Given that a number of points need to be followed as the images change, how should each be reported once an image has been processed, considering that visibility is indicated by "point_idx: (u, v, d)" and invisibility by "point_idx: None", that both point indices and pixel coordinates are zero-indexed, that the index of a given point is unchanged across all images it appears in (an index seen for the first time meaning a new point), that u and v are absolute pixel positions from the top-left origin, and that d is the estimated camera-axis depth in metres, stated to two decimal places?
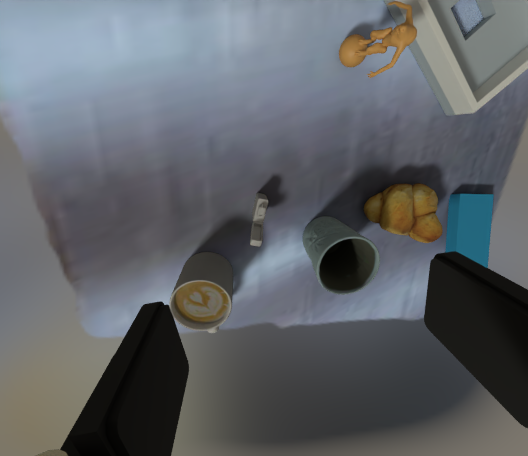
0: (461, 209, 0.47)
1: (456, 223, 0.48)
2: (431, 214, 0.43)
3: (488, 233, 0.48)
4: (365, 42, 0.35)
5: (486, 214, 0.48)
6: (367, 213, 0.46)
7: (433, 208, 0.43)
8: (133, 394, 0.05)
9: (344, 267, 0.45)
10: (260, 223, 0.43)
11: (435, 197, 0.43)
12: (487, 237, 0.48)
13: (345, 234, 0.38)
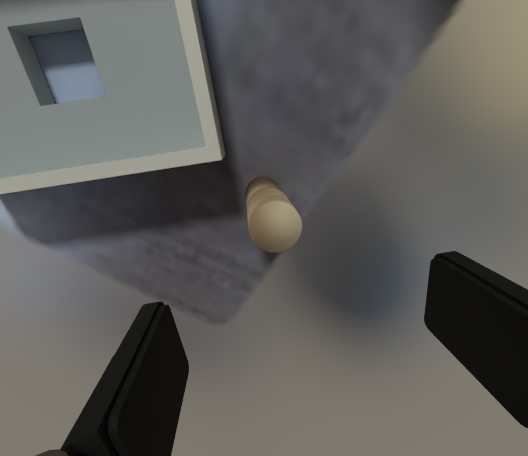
0: None
1: None
2: None
3: None
4: None
5: None
6: None
7: None
8: (134, 394, 0.05)
9: None
10: None
11: None
12: None
13: None
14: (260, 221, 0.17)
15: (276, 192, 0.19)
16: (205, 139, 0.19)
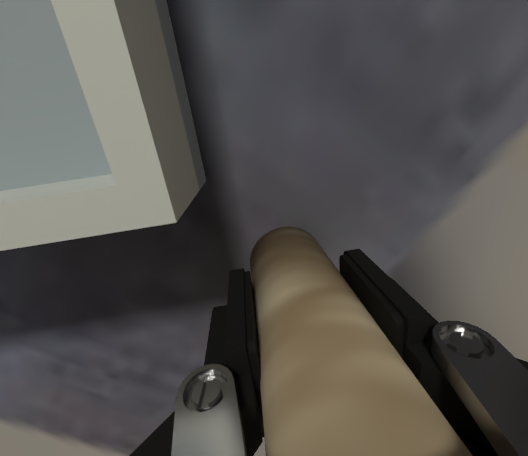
0: None
1: None
2: None
3: None
4: None
5: None
6: None
7: None
8: (254, 330, 0.07)
9: None
10: None
11: None
12: None
13: None
14: None
15: (364, 338, 0.05)
16: (110, 154, 0.05)
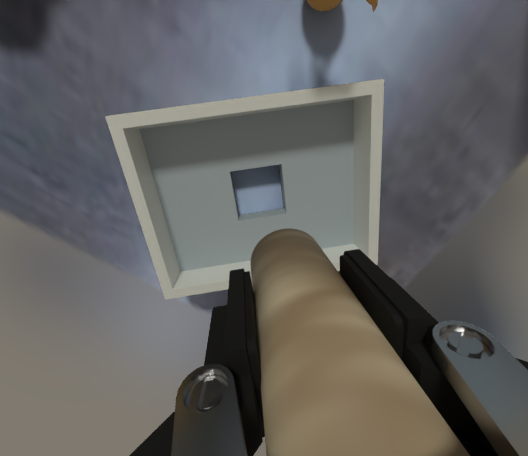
0: None
1: None
2: None
3: None
4: None
5: None
6: None
7: None
8: (254, 330, 0.07)
9: None
10: None
11: None
12: None
13: None
14: None
15: (364, 341, 0.06)
16: (369, 252, 0.26)
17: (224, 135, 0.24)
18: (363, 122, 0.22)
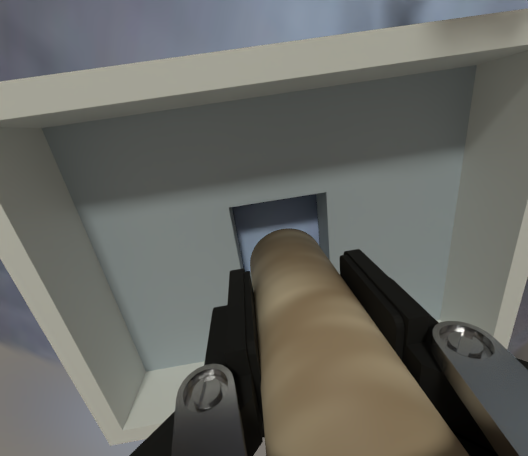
0: None
1: None
2: None
3: None
4: None
5: None
6: None
7: None
8: (254, 331, 0.07)
9: None
10: None
11: None
12: None
13: None
14: None
15: (364, 341, 0.06)
16: None
17: (217, 139, 0.12)
18: (512, 109, 0.10)
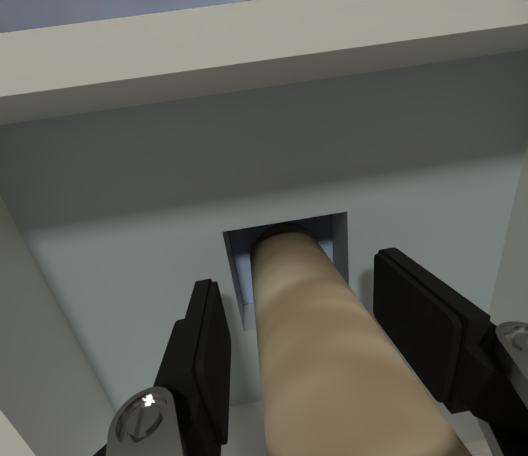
0: None
1: None
2: None
3: None
4: None
5: None
6: None
7: None
8: (208, 348, 0.06)
9: None
10: None
11: None
12: None
13: None
14: None
15: (353, 321, 0.06)
16: None
17: (206, 144, 0.09)
18: None
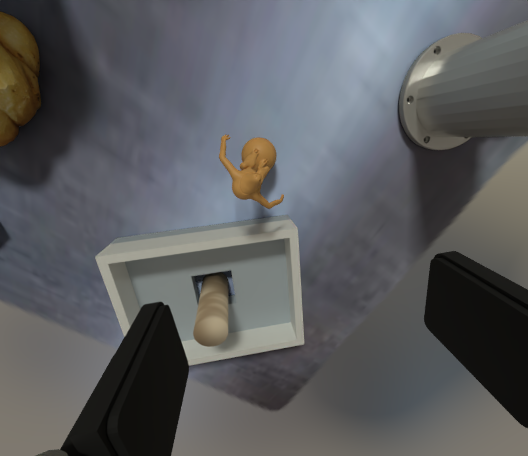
0: None
1: None
2: None
3: None
4: (260, 165, 0.27)
5: None
6: (2, 12, 0.21)
7: None
8: (133, 394, 0.05)
9: None
10: None
11: None
12: None
13: None
14: (200, 330, 0.26)
15: (216, 301, 0.29)
16: (297, 336, 0.34)
17: (186, 252, 0.31)
18: (288, 248, 0.31)
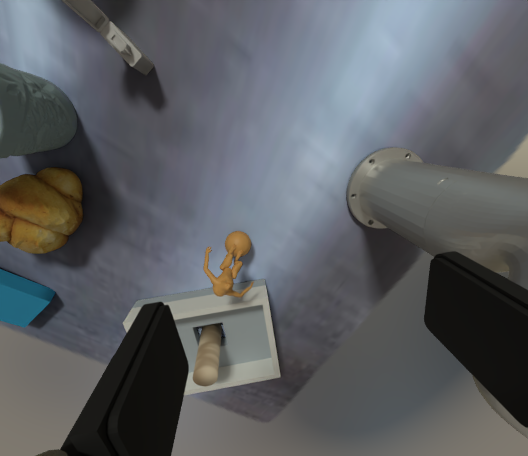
0: (27, 296, 0.38)
1: (8, 284, 0.36)
2: (6, 237, 0.31)
3: None
4: (238, 255, 0.37)
5: (0, 314, 0.38)
6: (59, 170, 0.32)
7: (15, 242, 0.31)
8: (134, 394, 0.05)
9: None
10: (100, 29, 0.26)
11: (31, 251, 0.33)
12: None
13: (12, 133, 0.23)
14: (197, 375, 0.37)
15: (209, 351, 0.39)
16: (274, 371, 0.44)
17: None
18: None
